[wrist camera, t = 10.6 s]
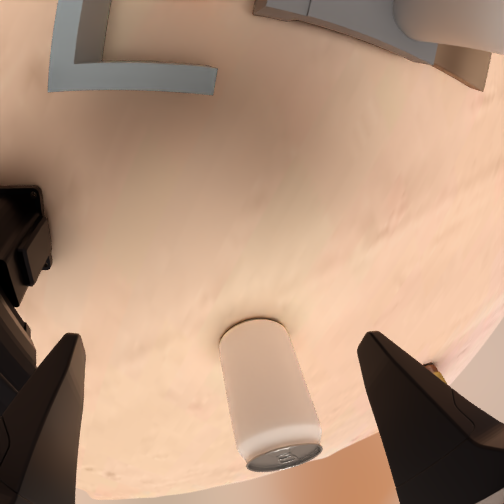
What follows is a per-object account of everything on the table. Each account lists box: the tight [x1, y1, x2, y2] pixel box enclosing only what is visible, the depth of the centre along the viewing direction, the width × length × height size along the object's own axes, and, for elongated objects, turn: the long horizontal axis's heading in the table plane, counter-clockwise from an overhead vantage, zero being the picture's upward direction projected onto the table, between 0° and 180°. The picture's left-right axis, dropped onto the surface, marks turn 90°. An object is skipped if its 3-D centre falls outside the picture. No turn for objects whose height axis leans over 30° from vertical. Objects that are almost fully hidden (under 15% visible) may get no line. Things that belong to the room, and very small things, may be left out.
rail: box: [431, 43, 492, 92], centre depth 16 cm, size 10×4×1 cm, turn 80°
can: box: [219, 319, 323, 472], centre depth 24 cm, size 6×6×12 cm
